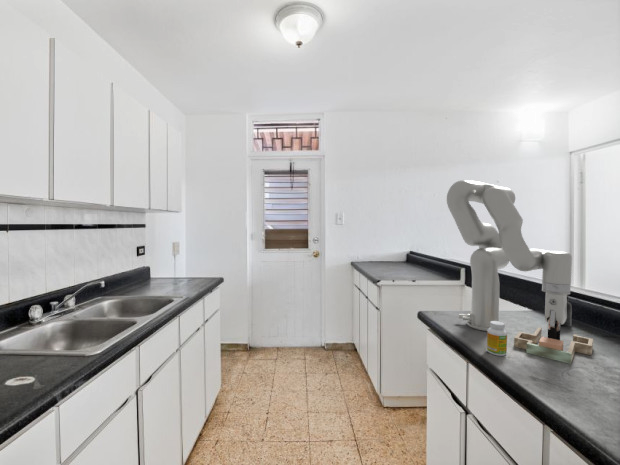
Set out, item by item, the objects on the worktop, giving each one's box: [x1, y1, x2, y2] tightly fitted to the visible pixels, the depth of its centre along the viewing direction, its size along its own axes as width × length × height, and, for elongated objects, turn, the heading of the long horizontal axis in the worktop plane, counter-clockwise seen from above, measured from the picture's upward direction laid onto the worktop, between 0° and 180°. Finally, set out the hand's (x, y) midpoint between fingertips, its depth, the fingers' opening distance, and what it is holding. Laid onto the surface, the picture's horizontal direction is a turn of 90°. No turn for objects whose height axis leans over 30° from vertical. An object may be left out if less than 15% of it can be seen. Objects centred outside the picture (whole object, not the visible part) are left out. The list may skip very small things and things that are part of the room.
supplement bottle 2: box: [560, 295, 573, 328], centre depth 126 cm, size 7×7×12 cm
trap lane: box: [513, 326, 594, 365], centre depth 103 cm, size 19×21×3 cm
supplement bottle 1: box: [486, 321, 508, 357], centre depth 100 cm, size 5×5×10 cm
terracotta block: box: [538, 336, 564, 351], centre depth 98 cm, size 6×6×4 cm
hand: (553, 341), depth 106 cm, fingers closed
